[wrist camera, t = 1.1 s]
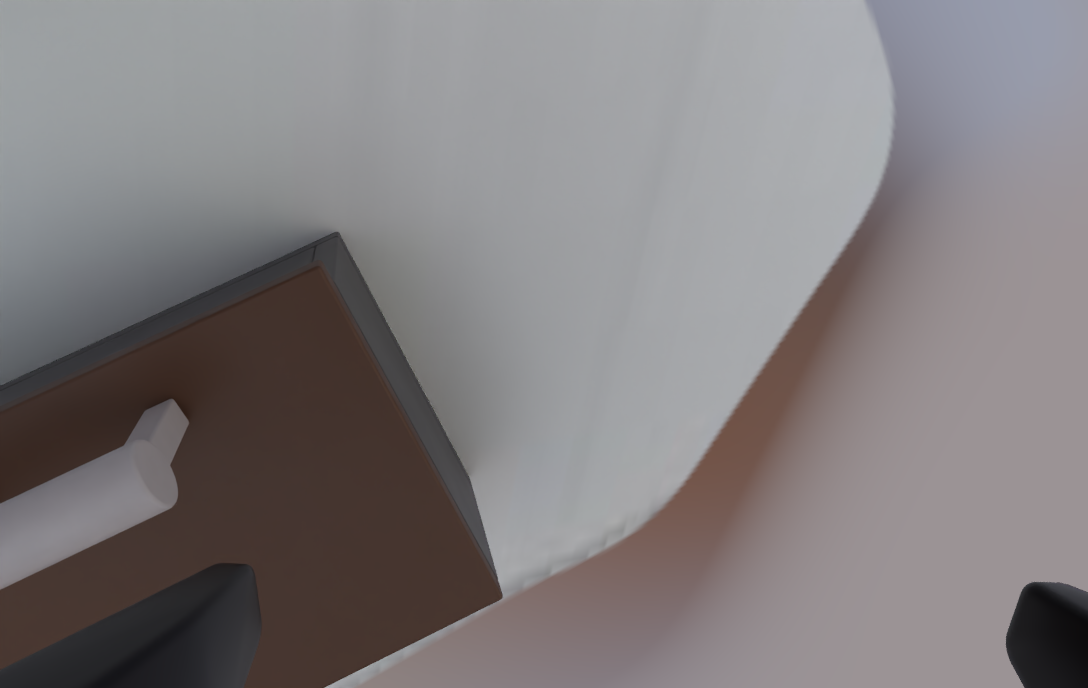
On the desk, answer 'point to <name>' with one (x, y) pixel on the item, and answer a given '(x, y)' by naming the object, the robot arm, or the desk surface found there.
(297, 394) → the lid
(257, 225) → the desk surface
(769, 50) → the desk surface
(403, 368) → the dark grey box
